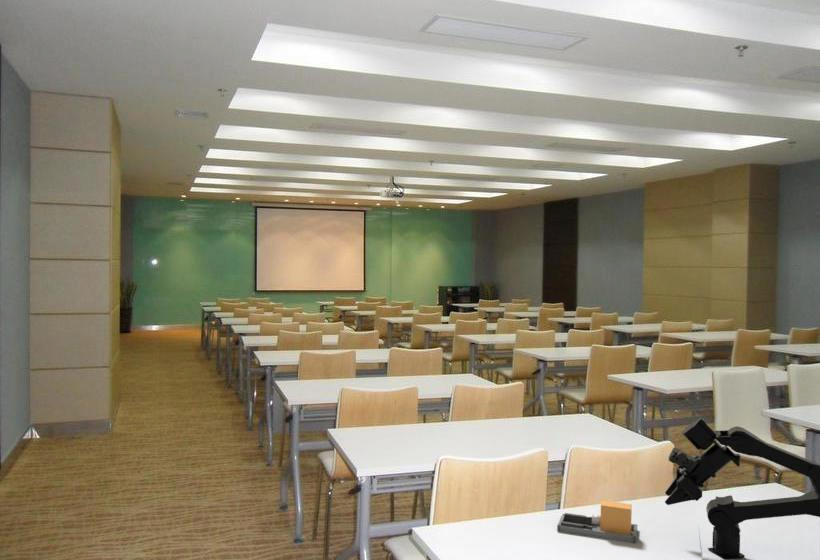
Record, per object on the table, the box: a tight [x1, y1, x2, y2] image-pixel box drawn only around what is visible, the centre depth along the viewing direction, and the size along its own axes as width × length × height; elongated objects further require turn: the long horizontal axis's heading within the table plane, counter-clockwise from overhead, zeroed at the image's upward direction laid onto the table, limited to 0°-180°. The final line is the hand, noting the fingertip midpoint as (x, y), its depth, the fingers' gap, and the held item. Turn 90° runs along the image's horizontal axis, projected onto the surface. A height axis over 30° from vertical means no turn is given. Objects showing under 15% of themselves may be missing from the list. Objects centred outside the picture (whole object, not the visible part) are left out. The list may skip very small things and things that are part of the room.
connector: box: [591, 499, 633, 535], centre depth 187 cm, size 10×4×8 cm, turn 69°
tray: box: [556, 512, 638, 544], centre depth 188 cm, size 21×10×3 cm, turn 69°
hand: (666, 498), depth 181 cm, fingers open, 8 cm apart
